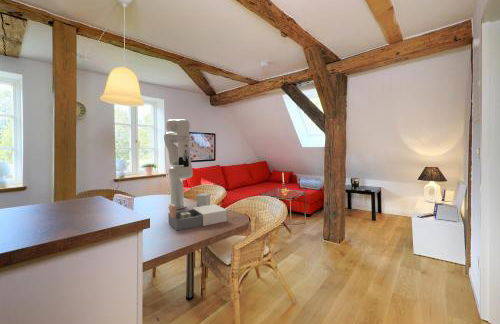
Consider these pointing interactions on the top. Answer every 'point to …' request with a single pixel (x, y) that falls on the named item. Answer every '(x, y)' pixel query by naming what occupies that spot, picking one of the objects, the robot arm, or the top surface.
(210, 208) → the white drawer housing
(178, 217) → the tray
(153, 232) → the top surface
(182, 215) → the sage block
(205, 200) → the supplement box
